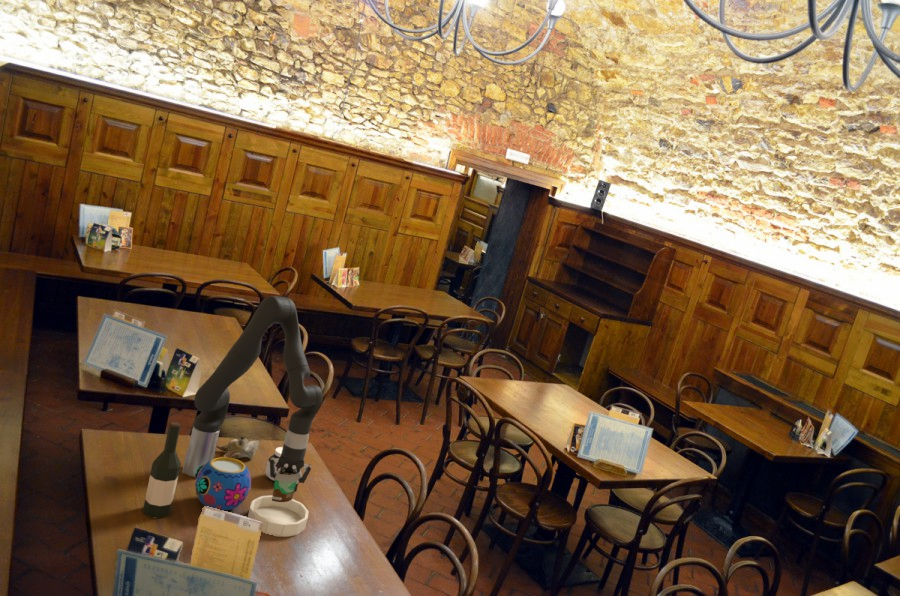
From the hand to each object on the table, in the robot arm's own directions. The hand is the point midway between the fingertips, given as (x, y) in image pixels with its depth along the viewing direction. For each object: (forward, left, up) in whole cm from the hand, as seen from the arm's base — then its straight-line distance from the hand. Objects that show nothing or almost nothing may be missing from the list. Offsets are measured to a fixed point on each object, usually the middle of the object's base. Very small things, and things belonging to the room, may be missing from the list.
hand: (284, 490), depth 241 cm
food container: (+1, 0, -3) cm, 3 cm away
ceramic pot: (-20, +3, -11) cm, 23 cm away
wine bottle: (-37, -8, -11) cm, 40 cm away
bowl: (0, 0, -11) cm, 11 cm away
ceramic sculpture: (-21, +43, -12) cm, 49 cm away
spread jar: (-2, +32, -11) cm, 34 cm away
